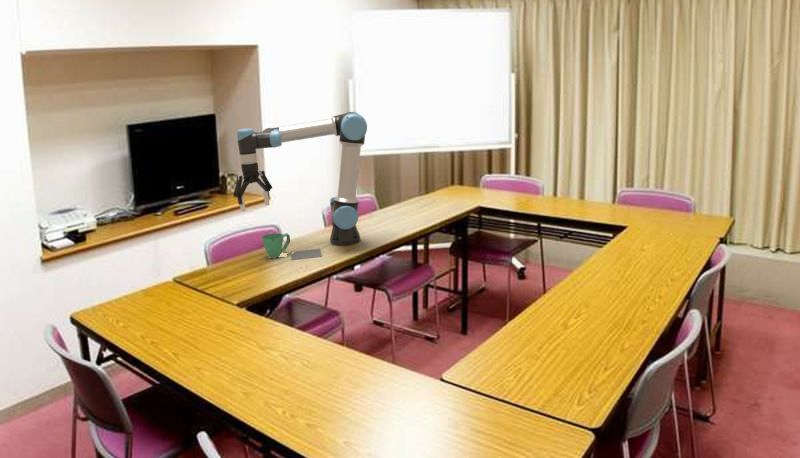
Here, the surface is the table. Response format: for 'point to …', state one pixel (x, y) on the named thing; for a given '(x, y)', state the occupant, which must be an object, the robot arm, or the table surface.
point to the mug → (275, 244)
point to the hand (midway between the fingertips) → (255, 208)
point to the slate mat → (306, 254)
